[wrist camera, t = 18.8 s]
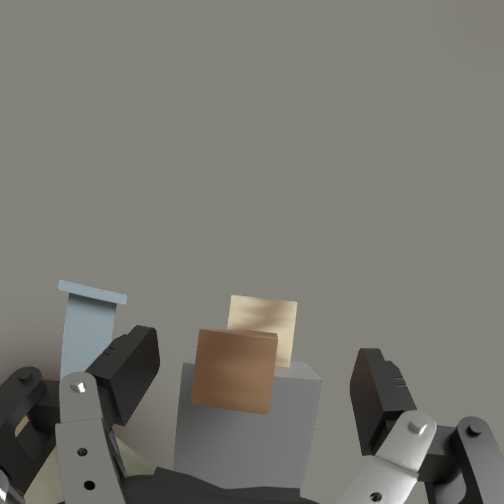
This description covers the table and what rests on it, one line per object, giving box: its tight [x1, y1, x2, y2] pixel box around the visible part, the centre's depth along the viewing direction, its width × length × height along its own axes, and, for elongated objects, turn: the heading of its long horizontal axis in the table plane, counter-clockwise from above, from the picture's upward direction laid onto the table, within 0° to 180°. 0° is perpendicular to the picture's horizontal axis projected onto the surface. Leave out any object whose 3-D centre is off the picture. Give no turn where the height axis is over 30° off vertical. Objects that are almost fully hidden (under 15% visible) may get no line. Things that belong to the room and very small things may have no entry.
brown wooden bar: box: [191, 295, 297, 415], centre depth 22 cm, size 6×22×6 cm, turn 175°
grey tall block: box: [173, 358, 322, 492], centre depth 22 cm, size 12×10×27 cm
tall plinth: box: [58, 280, 127, 381], centre depth 41 cm, size 11×12×32 cm
